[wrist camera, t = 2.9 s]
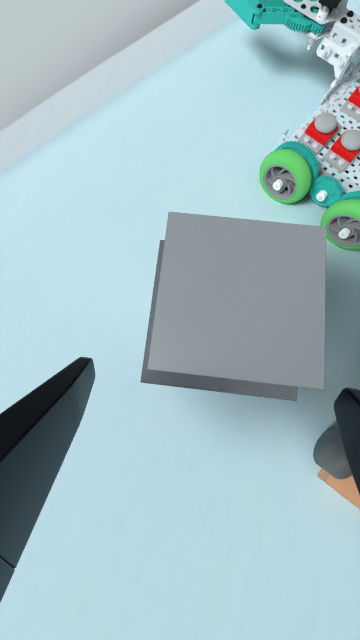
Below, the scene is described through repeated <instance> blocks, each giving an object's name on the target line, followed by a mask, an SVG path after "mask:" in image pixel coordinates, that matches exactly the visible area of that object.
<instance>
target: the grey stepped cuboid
mask: <svg viewBox="0 0 360 640" xmlns="http://www.w3.org/2000/svg"><path fill="white" fill-rule="evenodd" d="M325 265H326V227H320V226H309V225H299V224H289V223H279V222H269V221H258V220H248V219H238V218H228V217H218V216H207V215H197V214H187V213H177V212H169V213H168V221H167V228H166V236H165V240H160V246H159V253H158V260H157V267H156V275H155V282H154V289H153V296H152V303H151V311H150V318H149V325H148V332H147V339H146V346H145V354H144V361H143V368H142V375H141V382H142V383H150V384H158V385H167V386H175V387H184V388H192V389H200V390H209V391H217V392H226V393H234V394H242V395H251V396H259V397H268V398H276V399H285V400H293V401H297V387H305V388H314V389H322V390H324V371H325Z"/></svg>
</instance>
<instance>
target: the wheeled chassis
mask: <svg viewBox="0 0 360 640" xmlns="http://www.w3.org/2000/svg"><path fill="white" fill-rule="evenodd" d="M313 456H314V460H315V462H316V464H318V465H319V466H320V467H321V468H322V469H321V471H320V473H319V474H318V477H319V478H320V479H322V480H323V481H324V482H325V483H327V484H328V485H329V486H331V487H332V488H333V489H334V490H336V491H337V492H338V493H340V494H341V495H342V496H343V497H345V498H346V499H347V500H348V501H350V502H351V503H352V504H354V505H355V506H356V507H357V508H359V509H360V495H359V492H358V489H357V486H356V484H355V481H354V478H353V475H352V472H351V469H350V466H349V464H348V461H347V458H346V455H345V452H344V448H343V444H342V440H341V436H340V432H339V428H332V429H330V430H328V431H326V432H325V433H324V434H323V435H322V436H321V437H320V438H319V440H318V441H317V443H316V445H315V448H314V453H313Z"/></svg>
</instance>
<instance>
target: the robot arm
mask: <svg viewBox="0 0 360 640" xmlns="http://www.w3.org/2000/svg"><path fill="white" fill-rule="evenodd" d="M94 380H95V369H94V363H93V360H92V358H88V357H80V358H78V359H77V360H75V361H74V362H72V363H71V364H70V365H68V366H67V367H65V368H64V369H63V370H61V371H60V372H58V373H57V374H56V375H54V376H53V377H51V378H50V379H48V380H47V381H46V382H44V383H43V384H41V385H40V386H39V387H37V388H36V389H34V390H33V391H32V392H30V393H29V394H27V395H26V396H25V397H23V398H22V399H20V400H19V401H18V402H16V403H15V404H13V405H12V406H11V407H9V408H8V409H6V410H5V411H4V412H2V413H1V414H0V602H1V600H2V598H3V595H4V593H5V591H6V589H7V586H8V584H9V582H10V580H11V577H12V575H13V573H14V571H15V569H14V568H16V566H17V564H18V561H19V559H20V557H21V555H22V552H23V550H24V548H25V546H26V543H27V541H28V539H29V537H30V534H31V532H32V530H33V528H34V526H35V523H36V521H37V519H38V517H39V514H40V512H41V510H42V508H43V505H44V503H45V501H46V499H47V496H48V494H49V492H50V490H51V487H52V485H53V483H54V481H55V478H56V476H57V474H58V472H59V470H60V467H61V465H62V463H63V461H64V458H65V456H66V454H67V452H68V449H69V447H70V445H71V443H72V440H73V438H74V436H75V434H76V431H77V429H78V427H79V425H80V422H81V420H82V417H83V414H84V411H85V408H86V405H87V402H88V399H89V396H90V393H91V389H92V386H93V383H94ZM334 411H335V415H336V419H337V423H338V428H339V432H340V436H341V440H342V444H343V448H344V452H345V455H346V458H347V461H348V464H349V466H350V469H351V472H352V475H353V478H354V481H355V484H356V486H357V489H358V492H359V495H360V390H358V389H353V388H345V389H343V390H342V392H341V393H340V395H339V396H338V398H337V399H336V400H335V402H334Z"/></svg>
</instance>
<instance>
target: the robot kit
mask: <svg viewBox="0 0 360 640" xmlns="http://www.w3.org/2000/svg"><path fill="white" fill-rule="evenodd" d="M347 1H348V0H225V2H226V3H227V4H228V5H229V6H230V7H231V8H232V9H233V11H234V12H235V13H236V14H237V15H238V16H239V17H240V18H241V19H242V20H243V21H244V22H245V23H246V24H247V25H248V26H249V27H250V28H251V29H253V30H256V29H258V28H259V27H260V24H285V26H287V28H288V27H289V29H291V30H294V31H296V30H297V32H298V31H300V32H303V33H304V34H306V35H308V36H309V38H308V40H307V41H308V43H309V45H308V48H307V50H308V51H309V50H310V49H311V47H312V45H314V44H315V43H316V42H317V40H318V39H321V38H323V39H321V41H320V44H319V46H318V48H317V55H318V56H319V57H321V58H322V59H324V60H325V61H327V62H329V63H330V64H332V65H333V66H334V72H335V78H337V79H335V80H334V81H333V82H332V84H331V85H330V90H329V91H328V92H327V93H326V94H325V96H324V97H323V99H322V101H321V103H320V106H319V107H318V108H317V109H316V110H315V111H314V112H313V113H312V114H311V115H310V116H309V117H308V118H307V119H306V120H305V121H304V123H303V124H302V125H301V126H300V127H299V128H298V129H297V130H296V131H295V132H294V133H293V134H292V135H291V136H290V137H289V138H288V137H287V136H286V134H287V132H288V129H287V130H286V131H285V132H284V133H283V135H282V137H281V139H280V142H279V144H278V146H277V148H276V150H275V151H273V152H271V153H270V154H269V155H267V157H266V158H265V159H264V160H263V162H262V165H261V168H260V181H261V184H262V187H263V189H264V190H265V192H266V193H267V194H268V195H269V196H270V197H271V198H272V199H274V200H276V201H278V202H280V203H285V204H291V203H295V202H297V201H299V200H301V199H302V198H303V197H304V196H305V195H306V194H307V193H308V191H309V192H310V193H309V194H311V195H310V196H312V197H311V199H312V198H313V200H315V201H314V202H317V203H316V204H318V203H319V204H318V205H320V204H321V206H322V205H323V207H324V206H326V207H327V206H328V207H329V208H328V209H327V210H326V211H325V213H324V214H323V217H322V221H321V227H326V238H327V239H328V240H329V241H330V242H332V243H333V244H335V245H336V246H338V247H341V248H343V249H348V250H360V192H359V191H360V129H358V128H357V127H358V126H359V127H360V16H358V15H357V14H355V13H353V11H350V10H347V8H346V6H347ZM338 13H339V14H338ZM329 28H331V30H330V29H329ZM326 37H329V38H326ZM322 45H324V46H325V47H324V50H322V49H321V47H322ZM336 53H337V54H338V55H339V56H338V58H336V57H335V55H336ZM351 62H352V63H353V66H352V67H351V68H350V69H349V70H348V72H346V70H347V68H348V66H349V65H350V63H351ZM345 72H346V73H345ZM357 80H359V81H357ZM351 93H352V94H351ZM346 99H348V100H347V101H346ZM340 105H342V106H341V107H340ZM340 110H341V111H342V112H340ZM334 111H336V112H335V113H334ZM341 115H342V116H343V117H344V118H342V117H340V116H341ZM348 116H350V117H348ZM349 121H351V122H352V124H351V123H349ZM337 122H338V123H337ZM343 122H344V123H343ZM343 127H345V128H347V129H346V130H345V129H343ZM351 127H353V129H351ZM338 133H339V134H340V135H341V136H338V135H337V134H338ZM284 139H286V140H287V141H286V142H284ZM332 140H334V141H335V142H334V143H333V142H332ZM326 146H327V147H329V149H327V148H325V147H326ZM320 153H322V154H324V155H323V156H321V155H320ZM321 160H324V162H323V161H321ZM318 163H319V164H318ZM330 166H332V168H331V167H330ZM325 167H326V168H327V170H324V169H325ZM282 168H283V169H282ZM333 173H335V175H334V176H333ZM341 180H344V182H341ZM348 186H349V187H348ZM317 189H318V190H317ZM343 192H345V193H346V194H344V193H343ZM334 193H335V194H334Z"/></svg>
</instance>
